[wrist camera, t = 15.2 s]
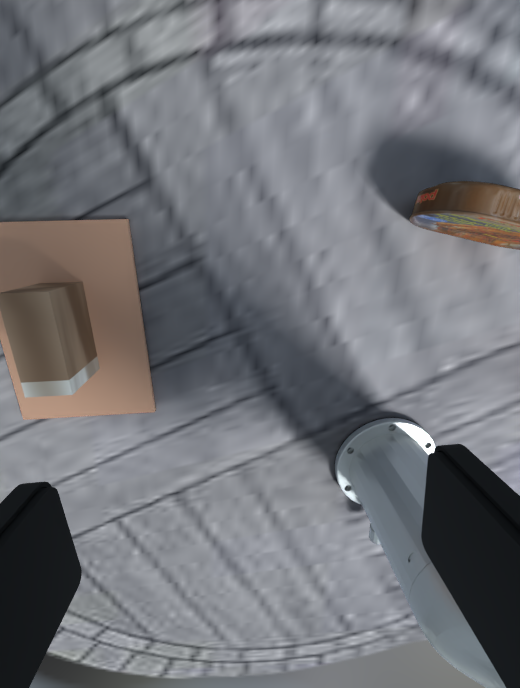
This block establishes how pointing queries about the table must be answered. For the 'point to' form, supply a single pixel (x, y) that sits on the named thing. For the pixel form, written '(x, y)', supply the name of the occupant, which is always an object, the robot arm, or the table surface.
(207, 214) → the table surface
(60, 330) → the card box
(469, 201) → the tin
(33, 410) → the mat
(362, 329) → the table surface
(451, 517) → the robot arm
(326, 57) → the table surface
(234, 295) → the table surface
